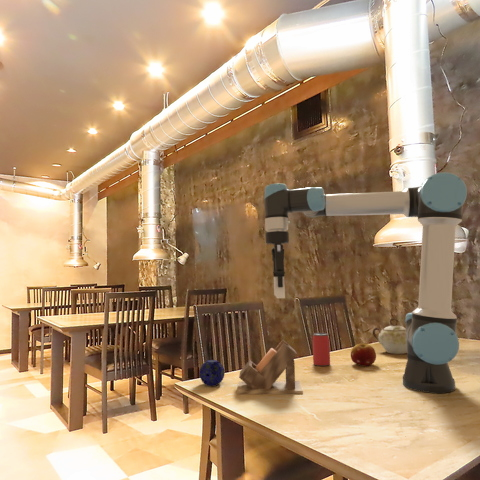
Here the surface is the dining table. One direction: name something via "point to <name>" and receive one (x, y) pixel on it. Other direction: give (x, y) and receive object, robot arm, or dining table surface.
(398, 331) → the sugar bowl
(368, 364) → the fruit
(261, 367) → the peg
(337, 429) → the dining table surface
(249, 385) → the socket
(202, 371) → the ball
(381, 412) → the dining table surface
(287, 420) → the dining table surface
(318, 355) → the beer can
